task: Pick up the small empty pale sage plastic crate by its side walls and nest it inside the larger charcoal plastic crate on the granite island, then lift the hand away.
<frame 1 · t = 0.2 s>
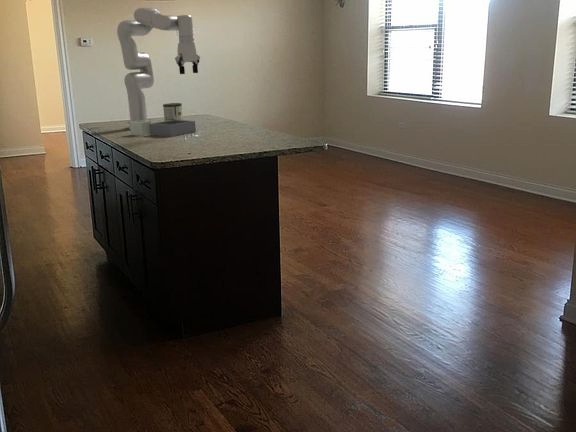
hand: (189, 73, 335), 31 cm above the countertop, tool pointing down, fingers open, 9 cm apart
sage crate: (141, 134, 341), on the countertop
coffee can: (174, 129, 358), on the countertop
charcoal crate: (173, 133, 339), on the countertop
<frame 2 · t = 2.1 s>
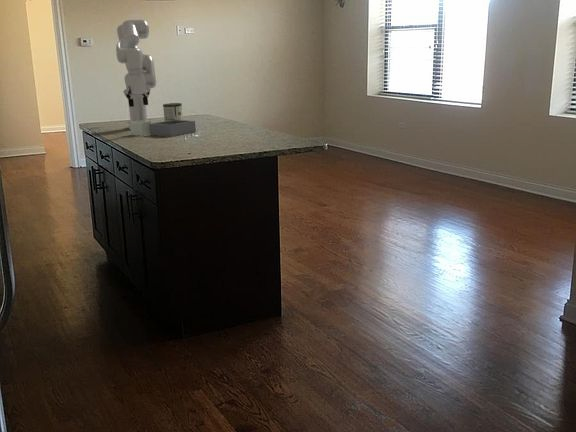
hand: (138, 105, 336), 15 cm above the countertop, tool pointing down, fingers open, 9 cm apart
nothing on the countertop moved.
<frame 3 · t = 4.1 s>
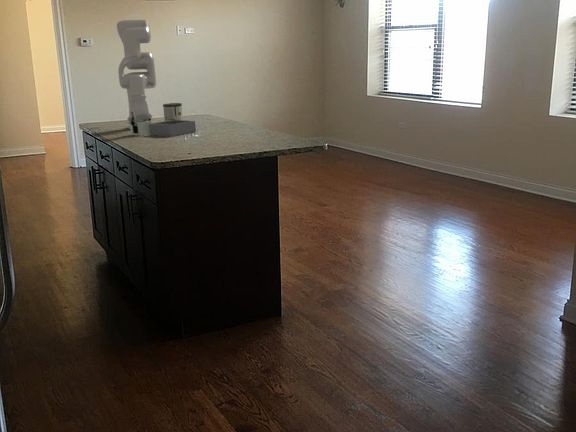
hand: (141, 131, 341), 1 cm above the countertop, tool pointing down, fingers closed on sage crate, 7 cm apart
sage crate: (141, 134, 341), on the countertop, touching gripper
everything else where it was.
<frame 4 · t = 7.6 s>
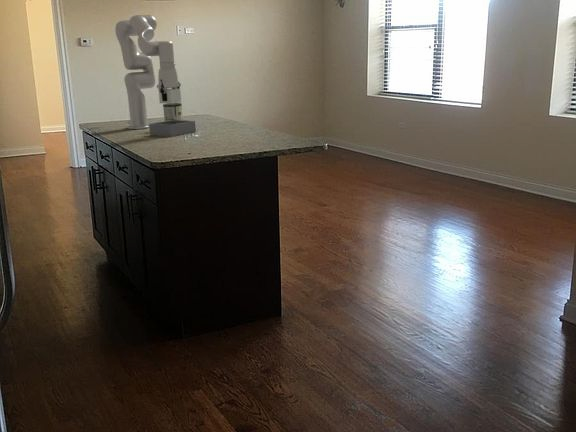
hand: (170, 100, 334), 18 cm above the countertop, tool pointing down, fingers closed on sage crate, 7 cm apart
sage crate: (170, 102, 335), point 16 cm above the countertop, touching gripper
everything else where it was.
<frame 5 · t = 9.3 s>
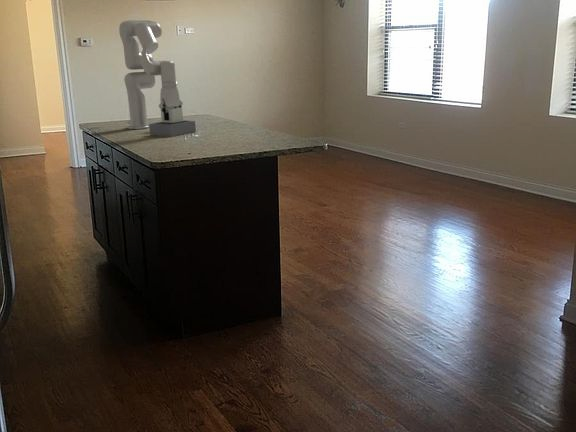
hand: (172, 119, 337), 8 cm above the countertop, tool pointing down, fingers closed on sage crate, 7 cm apart
sage crate: (172, 121, 337), point 6 cm above the countertop, touching gripper
everything else where it was.
when the fingers open (4 cm above the countertop, at t = 11.0 s): sage crate drops 2 cm, resting on charcoal crate.
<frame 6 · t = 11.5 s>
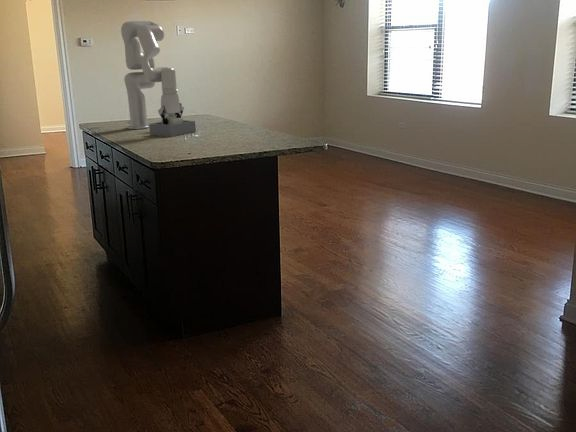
hand: (172, 124, 338), 5 cm above the countertop, tool pointing down, fingers open, 9 cm apart
sage crate: (173, 131, 339), point 1 cm above the countertop, touching charcoal crate
everything else where it was.
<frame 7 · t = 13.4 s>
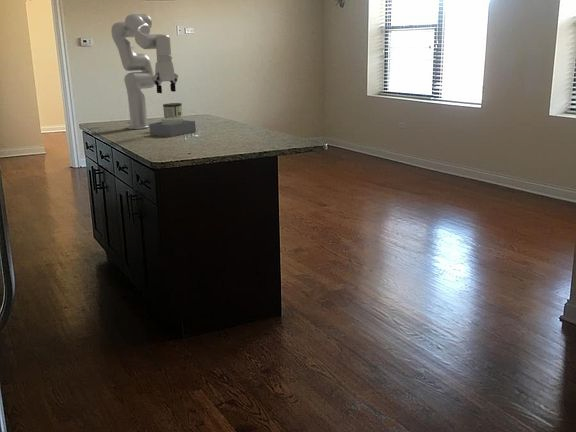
hand: (166, 92, 338), 22 cm above the countertop, tool pointing down, fingers open, 9 cm apart
nothing on the countertop moved.
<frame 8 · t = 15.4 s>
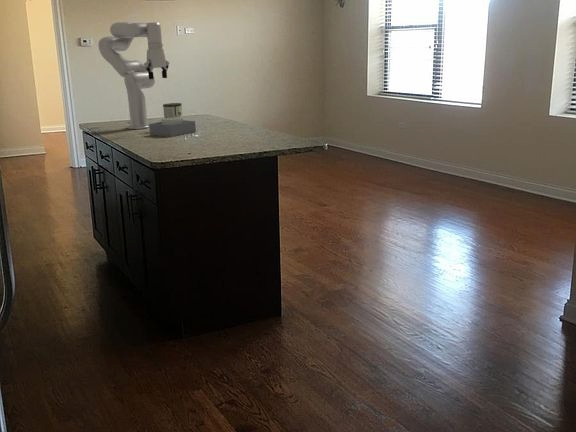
hand: (158, 78, 348), 28 cm above the countertop, tool pointing down, fingers open, 9 cm apart
nothing on the countertop moved.
at the end: sage crate inside the target area on the charcoal crate (0.1 cm from its centre), point 1.0 cm above the charcoal crate's base; sage crate tilted 0°; the gripper is holding nothing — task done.
